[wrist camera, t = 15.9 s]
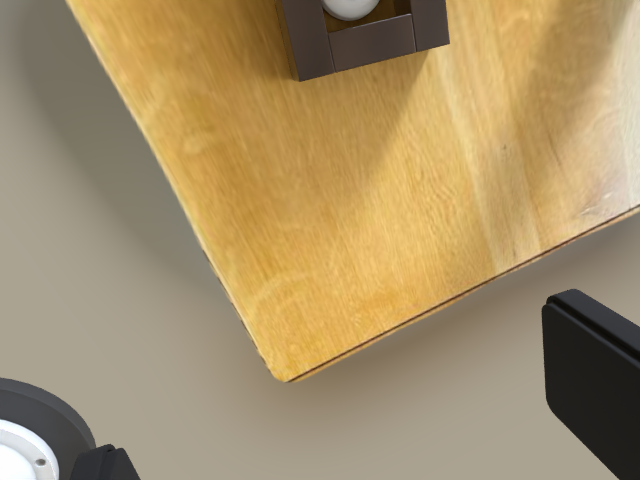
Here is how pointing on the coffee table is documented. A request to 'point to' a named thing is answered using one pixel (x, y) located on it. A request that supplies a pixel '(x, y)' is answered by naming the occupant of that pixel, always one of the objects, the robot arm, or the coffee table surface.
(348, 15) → the chess piece
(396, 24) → the socket block
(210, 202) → the coffee table surface
